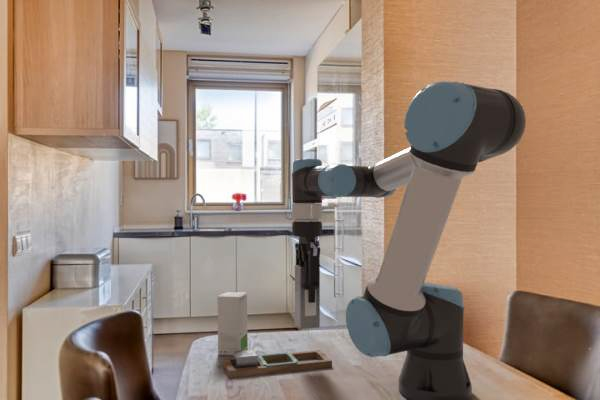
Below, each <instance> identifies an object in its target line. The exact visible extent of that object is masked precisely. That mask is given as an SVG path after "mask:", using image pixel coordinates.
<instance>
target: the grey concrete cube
mask: <svg viewBox="0 0 600 400" xmlns="http://www.w3.org/2000/svg"><path fill="white" fill-rule="evenodd" d="M258 356H259V355H258V354H257V353H256V351H255V349H246V350H243V351H234V356H233V358H234V366H233V367H234V369H236V368H247V367H257V366H258Z"/></svg>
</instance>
